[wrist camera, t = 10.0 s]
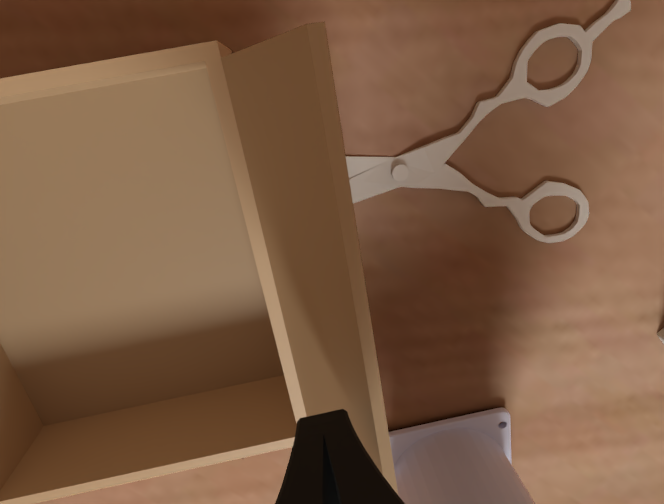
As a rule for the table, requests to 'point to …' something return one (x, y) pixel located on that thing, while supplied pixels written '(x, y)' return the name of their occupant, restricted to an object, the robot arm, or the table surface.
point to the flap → (310, 225)
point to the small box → (661, 335)
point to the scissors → (429, 160)
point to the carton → (132, 280)
